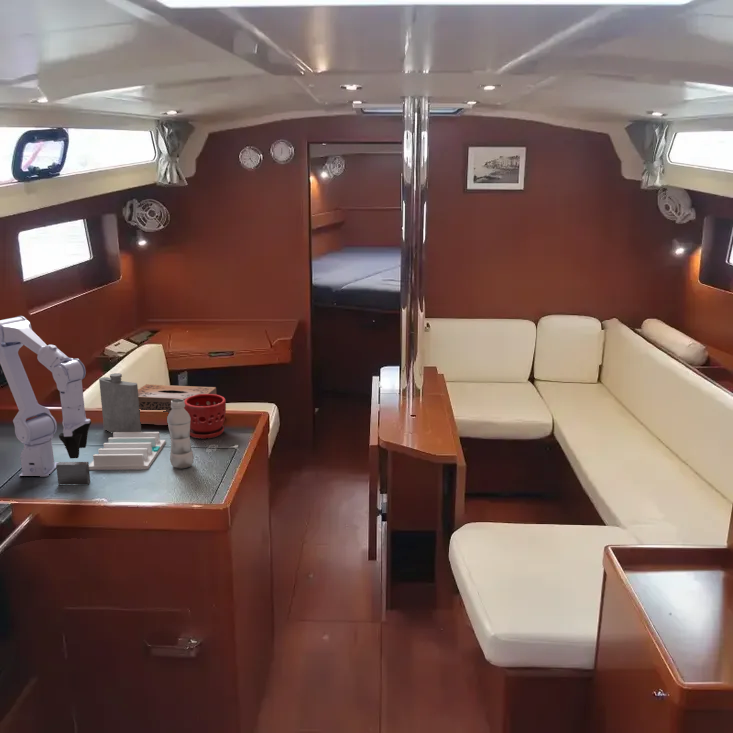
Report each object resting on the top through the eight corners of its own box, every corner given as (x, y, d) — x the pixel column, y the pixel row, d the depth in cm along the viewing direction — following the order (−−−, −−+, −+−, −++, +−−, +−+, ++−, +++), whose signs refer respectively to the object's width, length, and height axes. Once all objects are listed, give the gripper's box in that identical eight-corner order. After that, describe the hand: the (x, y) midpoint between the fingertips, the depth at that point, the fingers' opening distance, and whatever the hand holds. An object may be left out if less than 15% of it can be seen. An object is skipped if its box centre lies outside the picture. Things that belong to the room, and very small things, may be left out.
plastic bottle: (188, 472, 211) (184, 404, 206) (166, 470, 212) (161, 403, 207) (198, 463, 217) (193, 398, 212) (176, 461, 218) (171, 396, 213)
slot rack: (147, 469, 213) (146, 456, 212) (88, 469, 213) (86, 456, 212) (165, 443, 233) (164, 430, 232) (111, 443, 233) (109, 431, 232)
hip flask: (143, 435, 240) (138, 375, 235) (134, 439, 236) (128, 379, 231) (109, 427, 248) (104, 369, 242) (99, 430, 244) (94, 372, 239)
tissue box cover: (129, 424, 251) (127, 396, 248) (148, 411, 265) (146, 384, 262) (202, 428, 247) (201, 399, 245) (217, 414, 261) (216, 387, 258)
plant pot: (178, 439, 236) (175, 403, 233) (199, 426, 249) (196, 391, 246) (215, 443, 233) (213, 407, 230) (234, 429, 245) (232, 395, 242)
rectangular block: (88, 485, 203) (85, 464, 201) (58, 485, 202) (56, 464, 201) (90, 482, 204) (88, 461, 203) (61, 482, 204) (58, 462, 203)
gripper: (81, 412, 192) (86, 461, 196) (94, 396, 206) (99, 442, 210) (52, 414, 192) (58, 463, 195) (68, 397, 206) (73, 443, 209)
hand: (78, 452), depth 202 cm, fingers open, 7 cm apart
